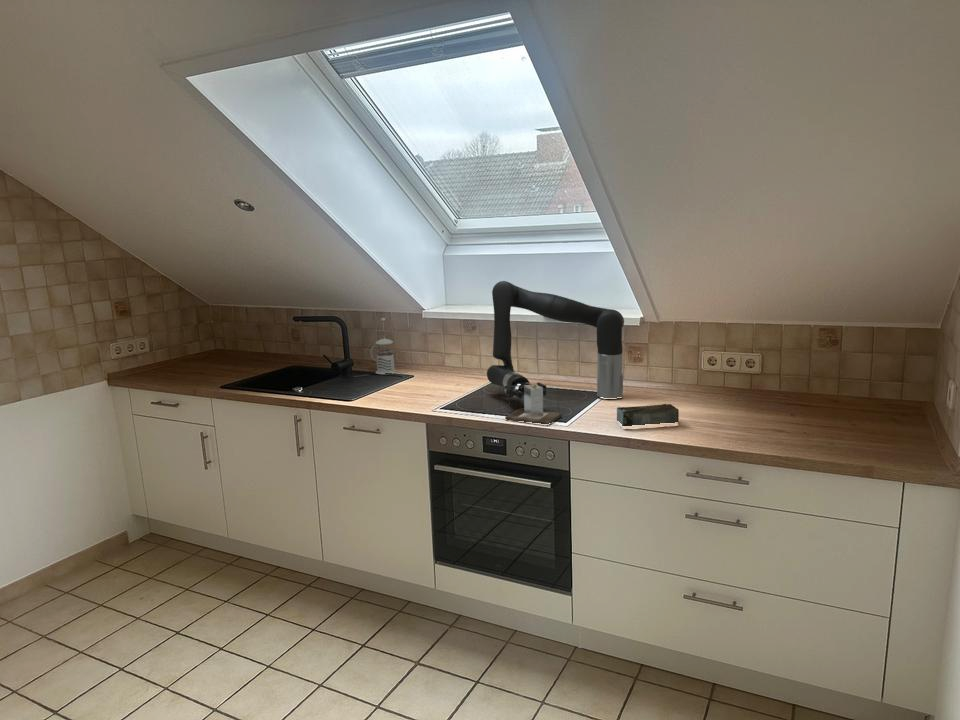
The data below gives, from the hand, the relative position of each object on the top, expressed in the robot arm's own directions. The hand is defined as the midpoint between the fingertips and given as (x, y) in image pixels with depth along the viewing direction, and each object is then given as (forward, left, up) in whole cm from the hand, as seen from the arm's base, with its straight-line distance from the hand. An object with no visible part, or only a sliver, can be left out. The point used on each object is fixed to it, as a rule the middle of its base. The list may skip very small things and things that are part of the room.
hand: (533, 394), depth 237 cm
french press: (+65, -76, -9) cm, 100 cm away
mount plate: (0, 0, -8) cm, 9 cm away
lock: (0, 0, -7) cm, 7 cm away
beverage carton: (-37, +10, -9) cm, 40 cm away
